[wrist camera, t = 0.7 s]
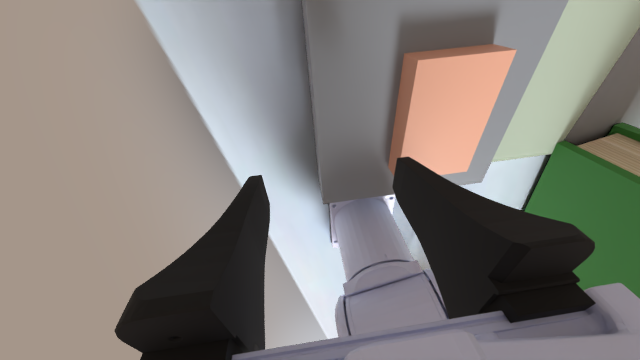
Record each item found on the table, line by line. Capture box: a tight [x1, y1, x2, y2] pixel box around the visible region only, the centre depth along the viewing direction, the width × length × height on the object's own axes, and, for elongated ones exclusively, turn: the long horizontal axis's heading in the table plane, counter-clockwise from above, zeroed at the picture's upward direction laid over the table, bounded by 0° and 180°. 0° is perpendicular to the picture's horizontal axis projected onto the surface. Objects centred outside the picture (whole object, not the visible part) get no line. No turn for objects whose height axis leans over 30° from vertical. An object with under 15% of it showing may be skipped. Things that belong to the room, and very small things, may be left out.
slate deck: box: [302, 0, 569, 204], centre depth 19 cm, size 16×16×4 cm
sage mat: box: [492, 0, 640, 162], centre depth 22 cm, size 17×11×1 cm, turn 4°
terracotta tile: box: [388, 44, 517, 176], centre depth 17 cm, size 9×6×2 cm, turn 4°
